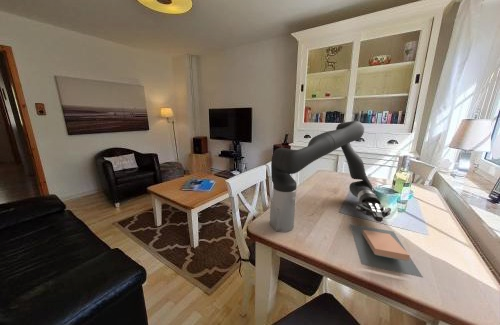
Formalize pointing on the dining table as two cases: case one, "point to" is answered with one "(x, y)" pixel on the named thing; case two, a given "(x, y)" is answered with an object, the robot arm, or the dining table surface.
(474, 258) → the dining table surface
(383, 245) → the glazed tile
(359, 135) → the robot arm
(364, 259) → the mat
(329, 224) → the dining table surface
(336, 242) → the dining table surface
